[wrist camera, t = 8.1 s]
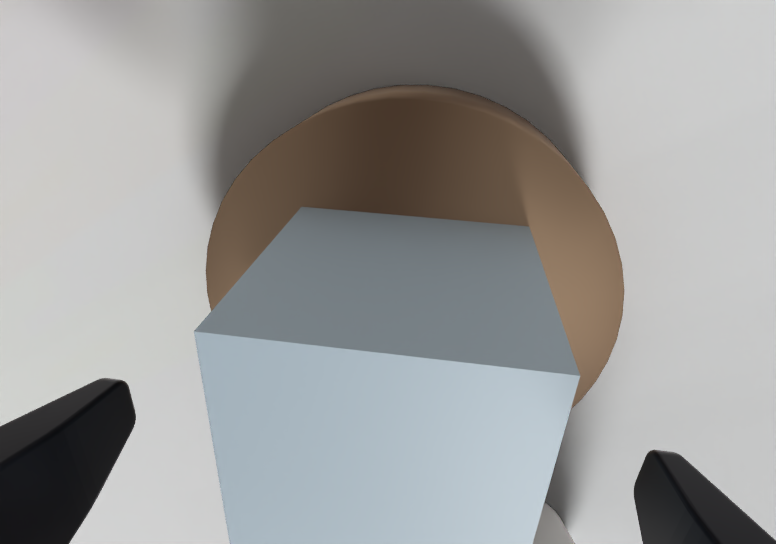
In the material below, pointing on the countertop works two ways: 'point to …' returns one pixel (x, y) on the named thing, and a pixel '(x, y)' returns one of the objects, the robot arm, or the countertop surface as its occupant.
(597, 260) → the brown shallow bowl
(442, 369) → the block
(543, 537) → the cup
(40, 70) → the countertop surface
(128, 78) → the countertop surface
